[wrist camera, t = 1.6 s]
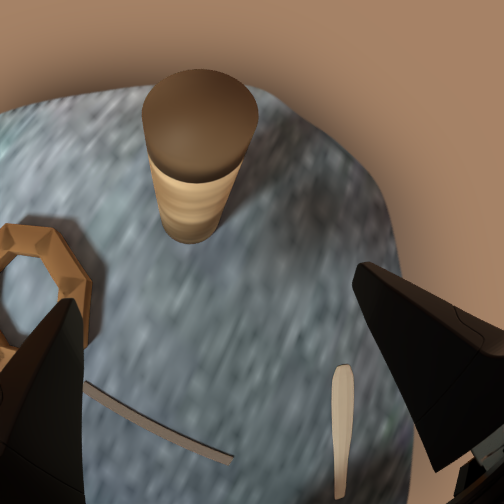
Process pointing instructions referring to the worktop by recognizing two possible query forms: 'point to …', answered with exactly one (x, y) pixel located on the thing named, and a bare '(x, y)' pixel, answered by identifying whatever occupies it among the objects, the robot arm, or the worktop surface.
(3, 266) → the faceted ring
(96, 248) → the worktop surface
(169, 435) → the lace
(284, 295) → the worktop surface
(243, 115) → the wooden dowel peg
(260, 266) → the worktop surface
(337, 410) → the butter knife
